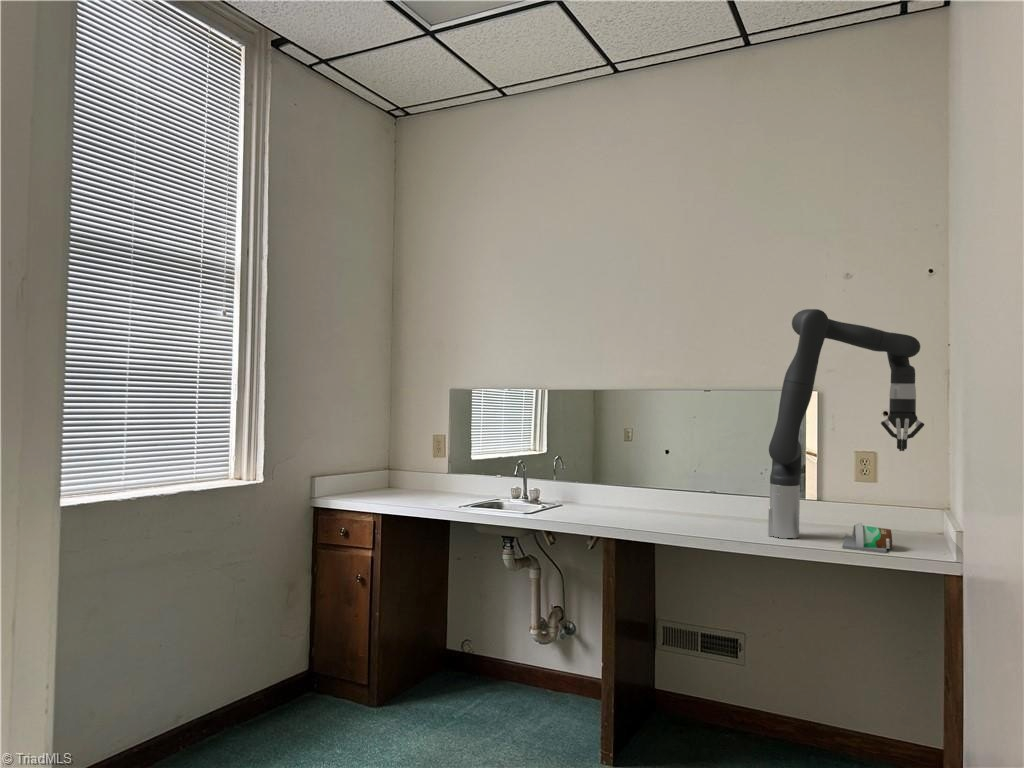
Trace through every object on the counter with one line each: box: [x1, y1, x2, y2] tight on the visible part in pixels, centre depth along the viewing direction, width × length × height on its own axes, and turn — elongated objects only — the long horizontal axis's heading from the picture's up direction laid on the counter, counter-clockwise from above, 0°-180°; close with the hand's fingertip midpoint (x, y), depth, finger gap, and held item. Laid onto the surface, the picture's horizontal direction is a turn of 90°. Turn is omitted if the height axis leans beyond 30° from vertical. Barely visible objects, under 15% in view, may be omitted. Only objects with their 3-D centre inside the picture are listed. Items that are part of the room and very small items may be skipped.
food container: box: [852, 522, 893, 550], centre depth 220 cm, size 12×6×10 cm
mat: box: [841, 535, 887, 554], centre depth 222 cm, size 12×16×1 cm
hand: (901, 450), depth 230 cm, fingers closed
